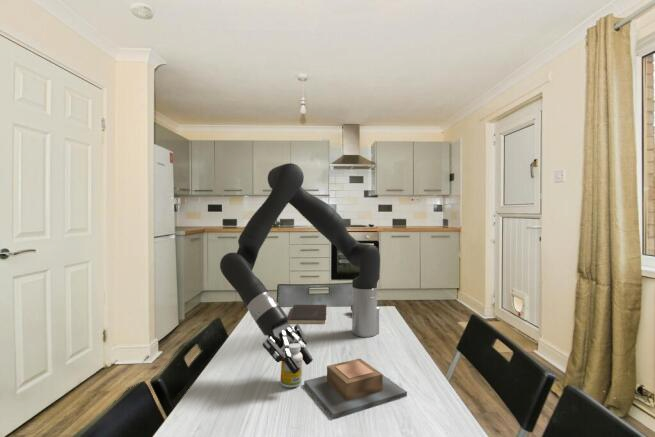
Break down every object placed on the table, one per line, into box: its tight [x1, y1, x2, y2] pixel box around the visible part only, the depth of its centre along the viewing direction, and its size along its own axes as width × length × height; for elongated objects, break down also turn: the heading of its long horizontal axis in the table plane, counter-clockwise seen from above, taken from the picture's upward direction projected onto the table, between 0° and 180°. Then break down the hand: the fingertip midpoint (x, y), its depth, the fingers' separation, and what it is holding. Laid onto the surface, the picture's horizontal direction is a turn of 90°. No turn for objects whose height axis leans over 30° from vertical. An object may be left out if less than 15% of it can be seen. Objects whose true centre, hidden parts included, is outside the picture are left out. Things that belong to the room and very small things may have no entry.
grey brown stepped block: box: [303, 358, 408, 420], centre depth 81 cm, size 20×16×5 cm
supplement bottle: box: [280, 341, 304, 388], centre depth 84 cm, size 5×5×10 cm
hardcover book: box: [287, 304, 327, 325], centre depth 144 cm, size 16×23×2 cm
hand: (303, 366), depth 82 cm, fingers closed on supplement bottle, 5 cm apart
